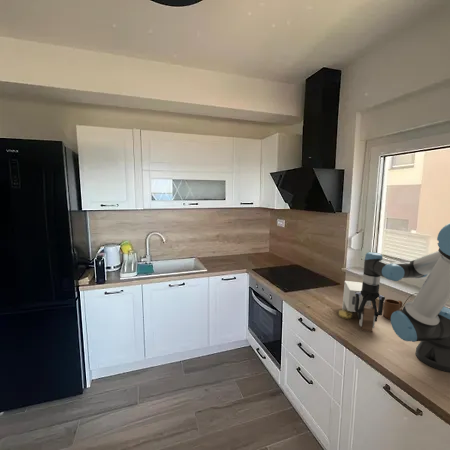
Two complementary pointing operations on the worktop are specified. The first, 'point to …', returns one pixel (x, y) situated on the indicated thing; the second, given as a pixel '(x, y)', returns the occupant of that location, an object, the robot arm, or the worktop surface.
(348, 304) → the cabinet
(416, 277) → the robot arm
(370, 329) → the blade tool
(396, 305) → the mug
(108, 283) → the worktop surface
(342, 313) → the brass token
